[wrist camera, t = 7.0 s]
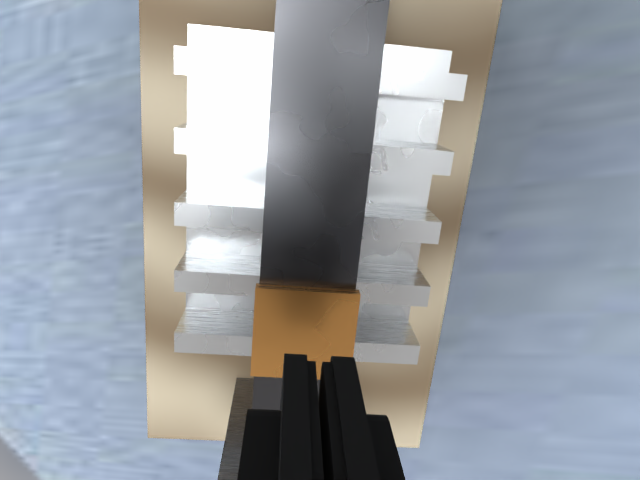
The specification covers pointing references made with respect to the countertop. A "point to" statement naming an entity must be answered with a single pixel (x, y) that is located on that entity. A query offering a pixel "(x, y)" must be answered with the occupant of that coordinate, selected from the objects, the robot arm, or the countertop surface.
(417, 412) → the board
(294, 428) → the robot arm
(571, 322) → the countertop surface
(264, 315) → the strap
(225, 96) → the heat sink
